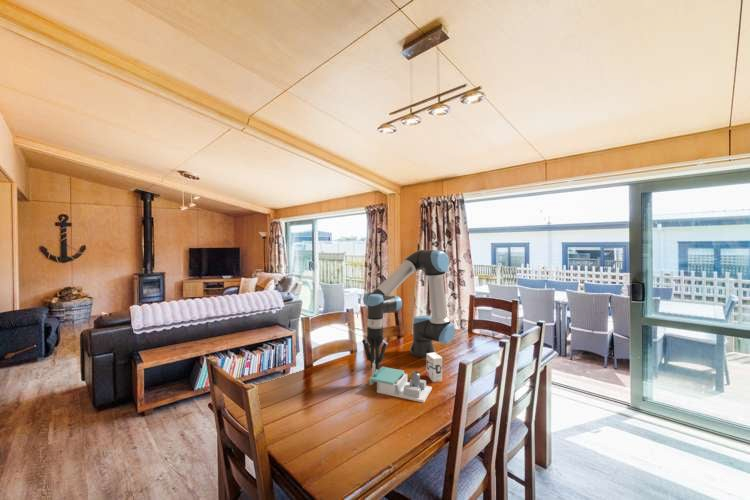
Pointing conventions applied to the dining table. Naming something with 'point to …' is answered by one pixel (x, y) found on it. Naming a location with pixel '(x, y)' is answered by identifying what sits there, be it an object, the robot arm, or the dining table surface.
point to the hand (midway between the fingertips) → (374, 375)
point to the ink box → (434, 367)
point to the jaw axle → (415, 379)
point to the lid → (386, 375)
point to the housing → (405, 389)
